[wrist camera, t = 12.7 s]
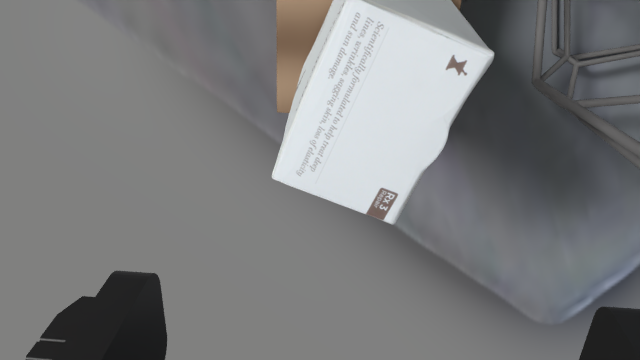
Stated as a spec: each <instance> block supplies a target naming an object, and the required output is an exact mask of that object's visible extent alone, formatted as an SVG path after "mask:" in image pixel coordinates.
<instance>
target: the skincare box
mask: <svg viewBox="0 0 640 360" xmlns="http://www.w3.org/2000/svg"><path fill="white" fill-rule="evenodd" d="M493 59H494V52H493V51H492V50H490V49H489V48H488V47H487V45H486V44H485V43H484V42H483V41H482V39H481V38H480V37H479V35H478V34H477V33H476V32H475V30H474V29H473V28H472V26H471V25H470V24H469V22H468V21H467V20H466V19H465V18H464V16H463V15H462V14H461V13H460V11H459V10H458V9H457V7H456V6H455V5H454V4H453V2H452V1H451V0H333V1H332V4H331V6H330V9H329V11H328V13H327V16H326V18H325V20H324V23H323V25H322V27H321V29H320V32H319V34H318V36H317V38H316V41H315V43H314V45H313V47H312V49H311V51H310V53H309V55H308V57H307V59H306V61H305V63H304V65H303V68H302V71H301V74H300V77H299V81H298V85H297V89H296V91H295V96H294V99H293V102H292V106H291V110H290V113H289V117H288V121H287V124H286V129H285V134H284V138H283V142H282V145H281V148H280V151H279V154H278V158H277V161H276V165H275V168H274V170H273V173H272V178H273V179H274V180H277V181H280V182H282V183H284V184H287V185H289V186H292V187H295V188H297V189H300V190H302V191H305V192H308V193H310V194H313V195H316V196H319V197H321V198H324V199H327V200H330V201H332V202H335V203H337V204H340V205H343V206H345V207H348V208H351V209H354V210H356V211H359V212H361V213H364V214H367V215H370V216H373V217H375V218H378V219H380V220H382V221H385V222H387V223H390V224H395V223H396V221H397V219H398V217H399V215H400V214H401V212H402V210H403V208H404V207H405V205H406V203H407V201H408V199H409V197H410V195H411V194H412V192H413V190H414V189H415V187H416V185H417V183H418V182H419V180H420V178H421V176H422V175H423V173H424V171H425V170H426V168H427V167H428V166H429V165H430V164H431V163H432V162H433V161H435V159H436V158H437V157H438V156H439V154H440V153H441V151H442V150H443V148H444V146H445V144H446V141H447V139H448V134H449V129H450V127H451V125H452V123H453V122H454V120H455V118H456V117H457V115H458V113H459V111H460V110H461V108H462V106H463V105H464V103H465V101H466V99H467V98H468V96H469V95H470V93H471V92H472V90H473V89H474V87H475V86H476V84H477V83H478V82H479V80H480V79H481V77H482V76H483V75H484V73H485V72H486V70H487V69H488V67H489V66H490V64H491V63H492V61H493Z"/></svg>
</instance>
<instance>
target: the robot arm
mask: <svg viewBox="0 0 640 360" xmlns="http://www.w3.org/2000/svg"><path fill="white" fill-rule="evenodd" d="M166 348H167V332H166V324H165V317H164V308H163V301H162V293H161V285H160V280H159V277H158V275H157V274H155V273H142V272H128V271H114V272H113V273H112V274H111V275H110V276H109V278H108V279H107V281H106V282H105V284H104V285H103V287H102V288H101V289H100V291H99V293H98V294H97V295H96V297H85V296H84V297H83V296H82V297H81V298H79V299H78V300H77V301H75V302H74V303H73V304H71V305H70V306H68V307H67V308H66V309H64V310H63V311H62V312H60V313H59V314H57V316H56V317H55V318H54V320H53V321H52V322H51V324H50V325H49V326H48V328H47V329H46V330H45V332H44V333H43V334H42V336H41V337H40V342H37V343H36V344H35V345H34V347H33V348H32V349H31V350H30V352H29V353H28V354H27V356H26V360H165V355H166ZM579 360H640V309H631V308H615V307H600V308H599V309H598V310H597V311H596V313H595V315H594V317H593V320H592V323H591V326H590V329H589V332H588V335H587V338H586V341H585V344H584V347H583V350H582V352H581V355H580V359H579Z"/></svg>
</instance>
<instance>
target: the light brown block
mask: <svg viewBox="0 0 640 360" xmlns="http://www.w3.org/2000/svg"><path fill="white" fill-rule="evenodd" d="M332 1H333V0H277V112H283V113H290V110H291V106H292V102H293V99H294V96H295V91H296V89H297V85H298V81H299V77H300V74H301V71H302V68H303V65H304V63H305V61H306V59H307V57H308V55H309V53H310V51H311V49H312V47H313V45H314V43H315V41H316V38H317V36H318V34H319V32H320V29H321V27H322V25H323V23H324V20H325V18H326V16H327V13H328V11H329V9H330V6H331V4H332ZM451 1H452V2H453V4H454V5H455V6H456V7H457V9H458V10H459V11H460V6H461V0H451Z"/></svg>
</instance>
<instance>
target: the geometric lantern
mask: <svg viewBox="0 0 640 360" xmlns="http://www.w3.org/2000/svg"><path fill="white" fill-rule="evenodd" d="M546 10H547V0H538V5H537V18H536V32H535V45H534V59H533V72H532V84H533V85H534V87H535V88H536V89H537V90H538V91H540V92H541V93H542V94H544V95H545V96H546V97H548V98H549V99H550V100H552V101H553V102H554V103H556V104H557V105H558V106H560V107H562V108H563V109H565V110H567V111H568V112H569V113H571V114H572V115H573V116H574V117H576V118H577V119H578V120H579V121H581V122H582V123H583V124H584V125H585V126H587V127H588V128H589V129H590V130H592V131H593V132H594V133H595V134H597V135H598V136H599V137H600V138H602V139H603V140H604V141H605V142H607V143H608V144H609V145H610V146H611V147H613V148H614V149H615V150H616V151H618V152H619V153H620V154H621V155H623V156H624V157H625V158H626V159H628V160H629V161H630V162H631V163H632V164H634V165H635V166H636V167H637V168H639V169H640V142H638V141H637V140H635V139H633V138H632V137H630V136H629V135H627V134H626V133H624V132H622V131H621V130H619V129H618V128H616V127H615V126H613V125H611V124H610V123H608V122H607V121H605V120H604V119H602V118H600V117H599V116H597V115H596V114H594V113H593V112H591V111H589V110H588V109H586V108H588V107H600V106H612V105H624V104H636V103H640V95H633V96H622V97H610V98H598V99H586V100H572V98H573V93H574V88H575V83H576V79H577V74H578V69H579V67H583V66H589V65H594V64H599V63H605V62H610V61H616V60H621V59H626V58H632V57H637V56H640V51H634V50H640V44H638V45H632V46H626V47H620V48H614V49H608V50H601V51H595V52H589V53H583V54H577V55H570V0H564V50H562V49H557V0H552V53H553V54H555V55H557V56H559V57H561V59H560V60H559V61H558V62H557V63H555V64H554V65H553V66H552V67H551V68H550V69H549V70H548V71H547V72H545V73H544V74H543V75H542V76H541V70H542V58H543V46H544V34H545V22H546ZM627 51H634V52H629V53H624V54H618V55H613V56H608V57H602V58H597V59H592V60H586V61H581V62H580V61H579V60H578V59H584V58H590V57H596V56H603V55H609V54H615V53H621V52H627ZM566 61H568V62H569V63H571V64H572V65H573V70H572V75H571V79H570V84H569V88H568V93H567V96H566V95H564V94H563V93H561V92H560V91H558V90H556V89H555V88H553V87H552V86H550V85H549V84H547V83H545V82H544V81H545V80H546V79H547V78H548V77H549V76H550V75H551V74H553V73H554V72H555V71H556V70H557V69H558V68H559V67H560V66H561V65H562V64H564V63H565V62H566Z"/></svg>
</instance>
